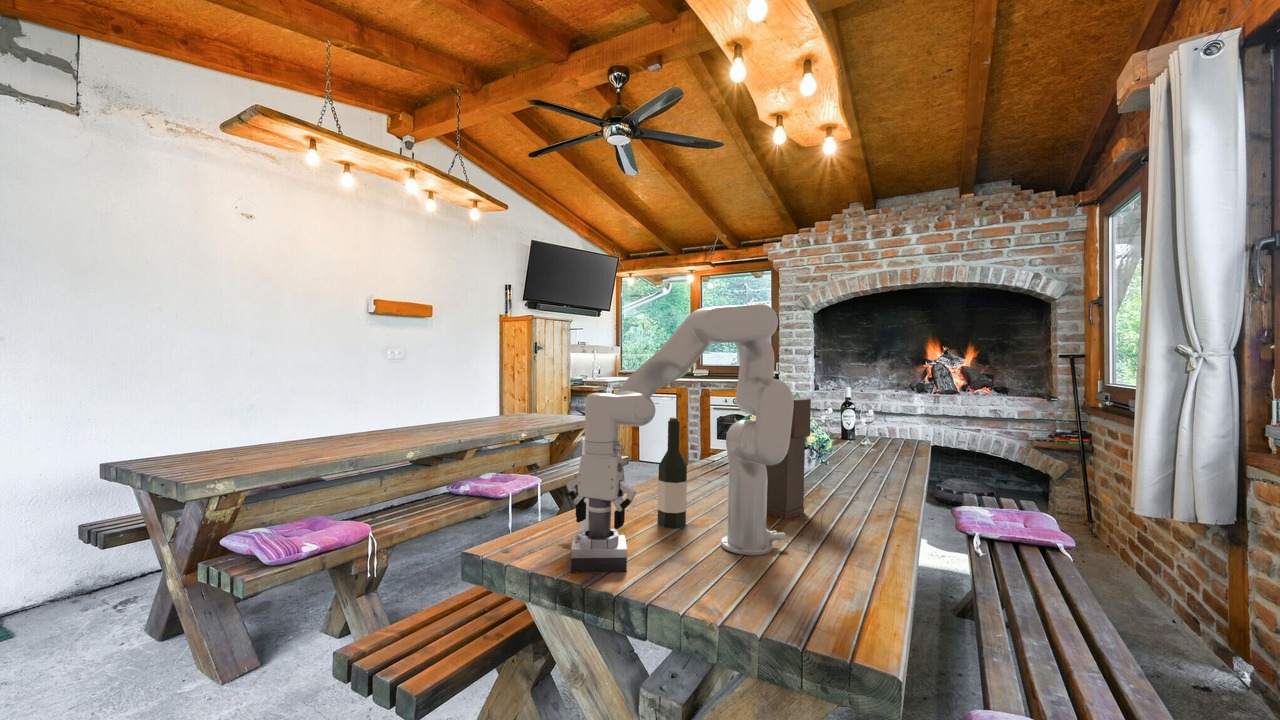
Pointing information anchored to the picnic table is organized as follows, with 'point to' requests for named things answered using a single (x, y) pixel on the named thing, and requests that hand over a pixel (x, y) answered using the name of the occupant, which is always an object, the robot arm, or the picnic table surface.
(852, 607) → the picnic table surface
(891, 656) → the picnic table surface
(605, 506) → the flashlight
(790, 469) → the brown footed pillar
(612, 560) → the octagonal metal flange
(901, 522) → the picnic table surface
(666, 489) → the wine bottle
